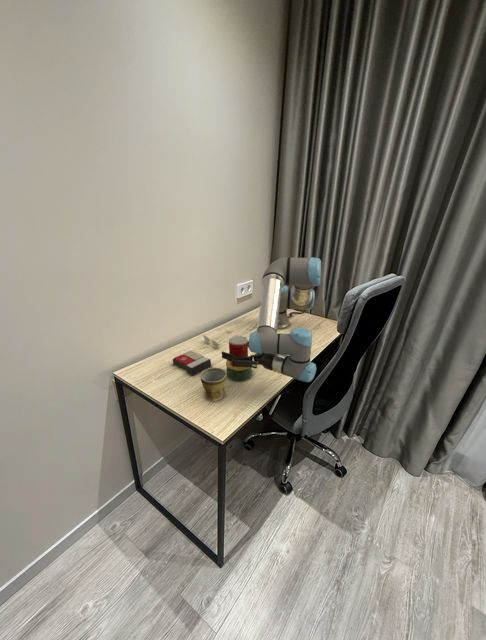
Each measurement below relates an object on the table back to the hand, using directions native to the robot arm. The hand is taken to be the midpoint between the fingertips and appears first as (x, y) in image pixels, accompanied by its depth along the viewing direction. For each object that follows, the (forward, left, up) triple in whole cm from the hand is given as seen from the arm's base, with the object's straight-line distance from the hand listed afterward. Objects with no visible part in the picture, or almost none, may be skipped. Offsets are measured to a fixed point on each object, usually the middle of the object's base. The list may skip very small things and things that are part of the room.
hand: (232, 348), depth 120 cm
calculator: (+6, -20, -12) cm, 24 cm away
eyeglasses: (-23, -24, -12) cm, 35 cm away
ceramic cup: (+17, +3, -12) cm, 21 cm away
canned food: (0, +3, -6) cm, 7 cm away
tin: (0, +3, -12) cm, 12 cm away
